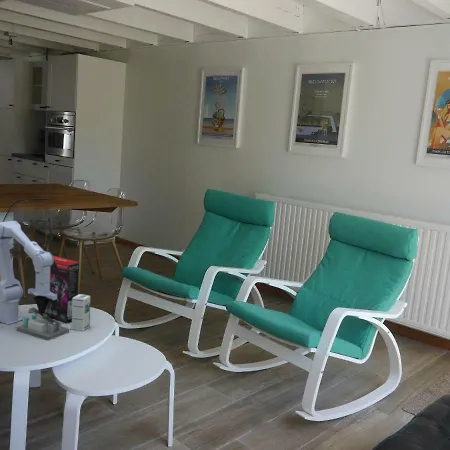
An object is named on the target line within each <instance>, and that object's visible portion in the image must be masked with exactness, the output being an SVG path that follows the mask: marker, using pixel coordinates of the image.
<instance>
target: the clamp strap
mask: <svg viewBox="0 0 450 450" xmlns="http://www.w3.org/2000/svg"><path fill="white" fill-rule="evenodd" d="M27 313H28V314H29V315H32V314H33V315H37V318H39V317H40V318H41V319H43V320H44V321H46V322H48V323H49V324H52V325H54V326H55V325H58V322H56V320H55V319H54V318H51V317H48V316H46V315H47V314H45V313H42V314H40V313H39V311H38V308H36V307H31V308H30V307H29V308H28V312H27Z"/></svg>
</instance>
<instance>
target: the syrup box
mask: <svg viewBox="0 0 450 450" xmlns="http://www.w3.org/2000/svg"><path fill="white" fill-rule="evenodd" d="M90 317H91V295H87V294H82V293H81V294H80V293H78V295H77V296H75V297H73V298H72V321H71V330H74V331H75V330H76V331H82V332H85V331H86V330H87V329H89V328H90V326H91V325H90V324H91V323H90V322H91V321H90V319H91V318H90Z"/></svg>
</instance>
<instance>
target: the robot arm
mask: <svg viewBox="0 0 450 450" xmlns="http://www.w3.org/2000/svg"><path fill="white" fill-rule="evenodd" d="M13 239H14V240H16V241H17V243H19V244H20V245H22V247H23V251H24V252H25V253H26V254H27V256H28V257H29V258H31V260H32V264H33V266H34V272H35V285H34V286H35V288H34V287H31V288H28V289H27V294H29V295H30V294H31V295H34V297H33V301H34V302H35V304H36V306H37V310H38V311H39V313H40V314H42V313H45V310H46V307H47V304H48V302H49V301H50V299H52V300H56V299H57V295H56V294H54V293H52V292H50V266H51V265H52V264H53V262H54V258H53V256H54V255H53V254H52V253H51V252H49V251H45V250H44V249H43V248H42V247H41V246H40V245H39V244H38V243H37V242H36V241H33V240H32V241H31V240H30V239H29V237H28V236H27V235H26V234H25V233H24V231H23V230H22V226H21V224H20V223H19V222H18V221H17V220H11V221H10V220H8V221H1V222H0V322H1V323H3V324H5V325H11V324H14V323H17V322H20V321H24V318H21V317H19V305H20V304H19V301H21V298H22V297H23V295H24V289H23V287H22V285H21V281H19V280H18V279H16V278H15V274H14V267H13V264H12V258H11V251H10V245H9V242H11V240H13Z"/></svg>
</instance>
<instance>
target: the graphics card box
mask: <svg viewBox="0 0 450 450" xmlns="http://www.w3.org/2000/svg"><path fill="white" fill-rule="evenodd" d="M52 256H53V258H54V262H53V264H52V265H51V266H50V292H52V293H54V294H56V295H57V299H56V300H52V299H50V301H49V302H48V304H47V307H46V310H45V314H47V315H46V316H48V317H50V318H51V319H53V320H57V321H60V322H62V323H70V322H71V323H72V298H73V297H75V296H77V295H79V276H80V272H79V271H80V262H79V261H76V260H75V261H74V260H72V259H67V258H63V257H60V256H56V255H52Z"/></svg>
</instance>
